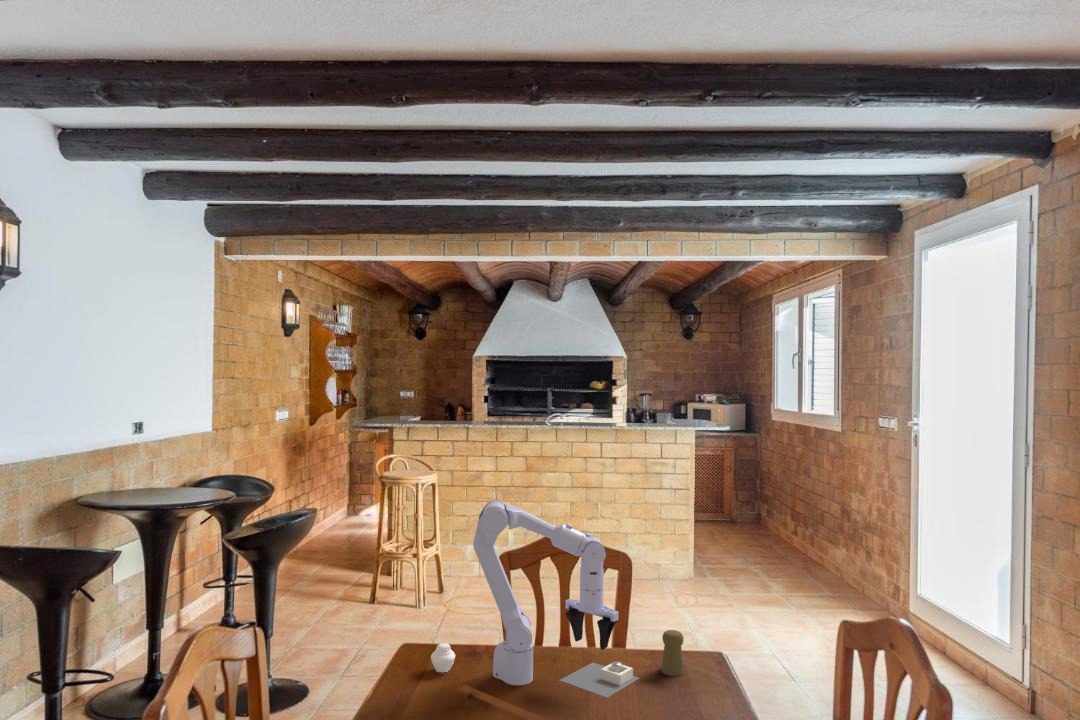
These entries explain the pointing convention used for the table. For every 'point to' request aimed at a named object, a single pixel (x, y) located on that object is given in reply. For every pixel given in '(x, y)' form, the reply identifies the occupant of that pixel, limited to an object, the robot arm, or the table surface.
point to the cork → (672, 653)
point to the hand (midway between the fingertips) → (591, 644)
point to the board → (594, 681)
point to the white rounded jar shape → (443, 658)
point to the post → (617, 667)
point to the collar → (617, 674)
